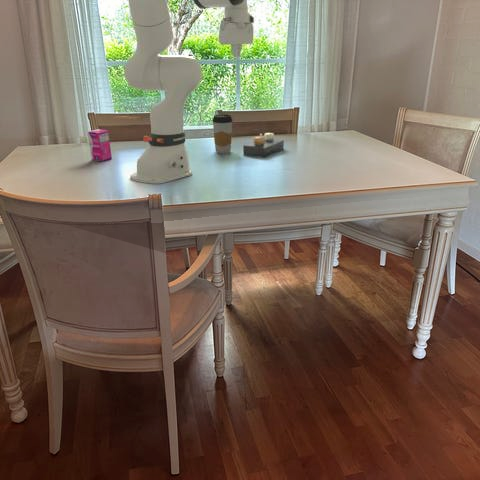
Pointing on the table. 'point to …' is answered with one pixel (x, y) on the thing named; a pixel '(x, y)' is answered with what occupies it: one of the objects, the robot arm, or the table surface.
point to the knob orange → (259, 140)
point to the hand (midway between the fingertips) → (236, 57)
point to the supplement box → (99, 145)
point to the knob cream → (269, 136)
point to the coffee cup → (222, 133)
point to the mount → (263, 148)
